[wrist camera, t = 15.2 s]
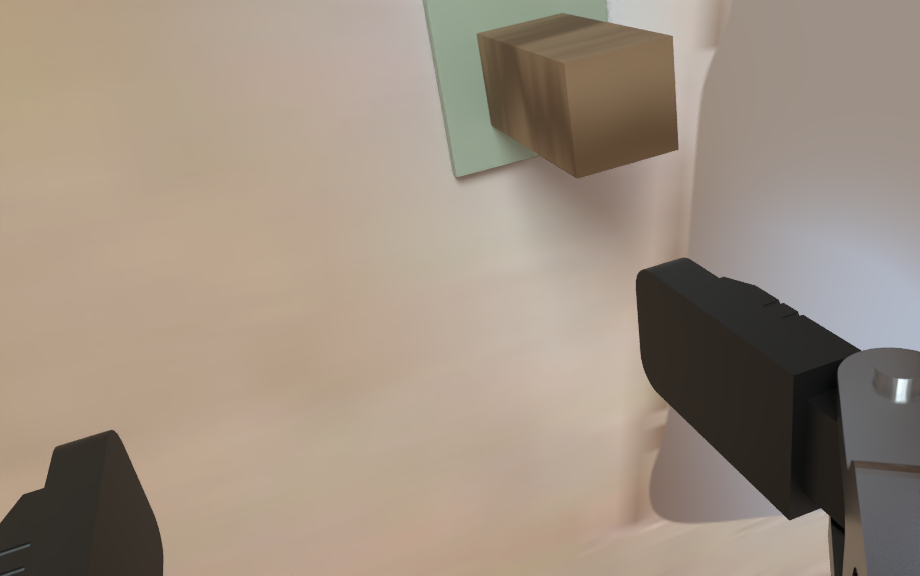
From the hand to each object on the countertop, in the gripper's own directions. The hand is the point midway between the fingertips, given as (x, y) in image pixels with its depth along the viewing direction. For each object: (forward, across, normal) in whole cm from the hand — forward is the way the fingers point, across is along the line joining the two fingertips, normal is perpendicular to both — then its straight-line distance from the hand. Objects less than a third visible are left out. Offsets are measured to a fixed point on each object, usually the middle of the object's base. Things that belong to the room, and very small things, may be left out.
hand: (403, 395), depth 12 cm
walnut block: (+28, -13, +2) cm, 30 cm away
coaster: (+28, -13, +2) cm, 31 cm away
